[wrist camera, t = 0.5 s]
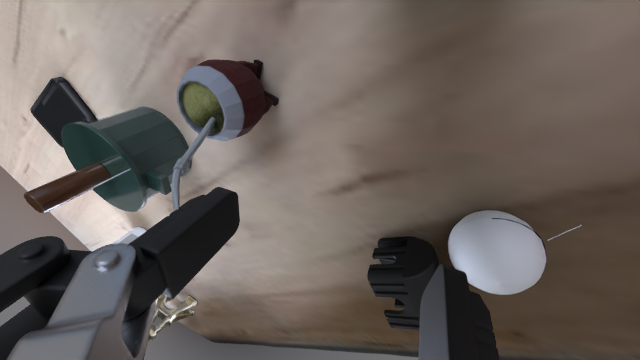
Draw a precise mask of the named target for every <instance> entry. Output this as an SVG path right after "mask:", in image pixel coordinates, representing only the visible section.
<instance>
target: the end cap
mask: <svg viewBox="0 0 640 360" xmlns="http://www.w3.org/2000/svg"><path fill="white" fill-rule="evenodd" d="M378 247H379V248H375V249H374V252H373V256H372V257H373V259H380V261H381V264H377V265H370V267H369V270H368V281H369V283H370V285H371V287H372V289H373V291H374V293H375V295H376V296H379V297H392V298H396V300H395V307H401V308H405V309H404V310H401V311H394V310H385V312H384V314H385V316H386V318H387V320H388V322H389V324H390V326H391V327H392V328H401V329H411V330H420V305H421V299H422V296H423V293H424V290H425V288H426V287H427V285H428V283H429V282H430V280H431V278H432V276H433V275H434V273H435V271H436V269H437V268H438V266H439V265H440V264H439V261H438V258H437V255H436V252H435V250H434V248H433V247H432V245H431V244H429V243H428V242H426V241H424V240H422V239H419V238H415V237H396V238H382V239H379V241H378Z"/></svg>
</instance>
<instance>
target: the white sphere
mask: <svg viewBox="0 0 640 360" xmlns="http://www.w3.org/2000/svg"><path fill="white" fill-rule="evenodd" d="M580 226H581V225H580ZM580 226H578V227H580ZM578 227H576V228H578ZM576 228H573V229H576ZM573 229H571V230H573ZM571 230H569V231H571ZM569 231H566V232H569ZM566 232H564V233H566ZM564 233H562V234H564ZM562 234H560V235H562ZM560 235H558V236H560ZM558 236H556V237H558ZM553 238H555V237H553ZM553 238H551V239H553ZM551 239H548V240H551ZM548 240H547V241H548ZM448 253H449V256H450V260H451V262H452V264H453V266H454V268H455V269H457V270H460V271H463V272H465V273H466V275H467V280H468V283H470V284H471V285H473V286H475V287H477V288H479V289H481V290H483V291H486V292H489V293H492V294H499V295H511V294H515V293H519V292H521V291H524V290H526V289H527V288H529V287H531V286H533V285H535V283H536V282H537V281H538V280H539V279H540V277H541V275H542V273H543V271H544V268H545V264H546V255H545V247H544V243H543V241H542V239H541V238H540V236H539V235H538V234H537V233H536V232H535V231H534V230H533V229H532V228H531V227H530V226H529V225H528V224H527V223H526V222H524V221H522V220H521V219H519V218H517V217H515V216H513V215H511V214H509V213H505V212H501V211H494V210H484V211H479V212H474V213H472V214H469V215H467V216H465V217H464V218H463V219H462V220H461V221H459V222H458V223H457V224H456V225H455V226H454V227H453V229H452V231H451V233H450V236H449V240H448Z"/></svg>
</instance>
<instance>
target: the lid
mask: <svg viewBox="0 0 640 360" xmlns="http://www.w3.org/2000/svg"><path fill="white" fill-rule="evenodd" d="M61 138H62V143H63V147H64V150H65V152H66V154H67V156H68V158H69V160H70V162H71V163H72V165H73V166H74V168H75V169H76V171H75V172H72V173H70V174H68V175H65V176H63V177H61V178H58V179H56V180H54V181H52V182H49V183H47V184H45V185H42V186H40V187H38V188H35V189H33V190H31V191H28V192H26V193H24V197H25V199H26V201H27V202H28V203H29V204H30V205H31V206H32V207H33V208H34V209H35V210H37V211H38V212H40V213H46V212H48V211H50V210H52V209H54V208H56V207H58V206H60V205H62V204H64V203H66V202H68V201H70V200H72V199H74V198H76V197H78V196H80V195H82V194H84V193H86V192H88V191H90V190H92V189H93V190H94V191H95V192H96V193H97V194H98V195H99V196H101V197H102V198H103V199H104V200H106V201H107V202H109V203H110V204H112V205H114V206H115V207H117V208H119V209H122V210H125V211H129V212H135V211H138V210H140V209H141V208H143V207H144V206H145V204H146V202H147V190H146V186H145V184H144V181H143V179H142V177H141V175H140V173H139V171H138V169H137V168H136V166H135V165H134V163H133V162H132V160H131V159H130V158H129V156H128V155H127V154H126V153H125V152H124V150H123V149H122V148H121V147H120V146H119V145H118V144H117V143H116V142H115V141H114V140H113V139H111V138H110V137H109V136H108V135H106V134H105V133H104V132H102V131H101V130H99V129H98V128H96V127H94V126H92V125H90V124H88V123H84V122H72V123H69V124H66V125H65V126H64V127H63V129H62V132H61Z"/></svg>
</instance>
